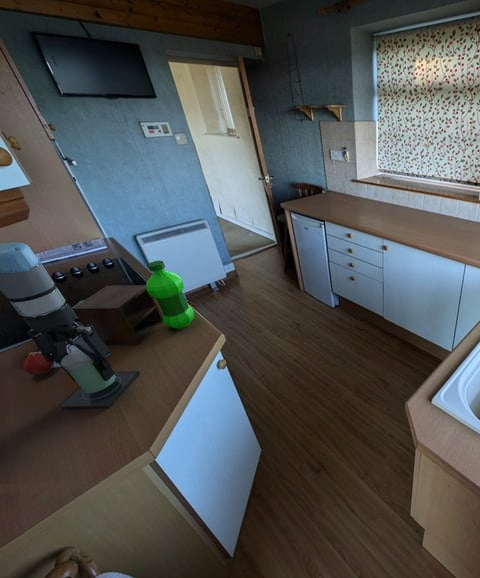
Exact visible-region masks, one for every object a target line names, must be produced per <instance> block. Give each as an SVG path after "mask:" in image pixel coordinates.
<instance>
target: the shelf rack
mask: <svg viewBox="0 0 480 578" xmlns="http://www.w3.org/2000/svg"><path fill="white" fill-rule="evenodd" d="M83 300H84V301H83ZM83 300H82V301H83V302H81V303H80V304H78V303H77V304H78V305H77V306H75V305H74V306H75V307H74V306H73V307H74V308H72V307H71V308H72V309H73V311H74V312H75V314H76V315H77V317H78V318H79V319H78V320H79V321H80V324H81V325H82V327H87V326H88V325H92V326H93V327H94V329H95V332H96V334H97V335H98V336H99V337H100V338H101V340H102V341H103V342H104V343H105V344H106V346H119V345H125V346H127V345H140V344H141V343H142V341H141V340H140V338H139V337H138V335H137V333H136V331H135V328H136V327H137V326H138V325H139V324H140V323H141V322H163V318H162V314H163V313H162V311H161V308H160V306H159V304H158V302H157V300H156V298H154V297H151V296H150V295H149V294H148V292H147V288H146V284H142V285H141V284H140V285H139V284H138V285H137V284H135V285H133V284H132V285H131V284H129V285H123V284H122V285H120V284H119V285H105V286H104V287H103V288H101V289H99V290H98V291H96V292H95V293H93V294H92V295H90V296H88V297H87V298H85V299H83Z"/></svg>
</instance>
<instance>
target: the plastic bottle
mask: <svg viewBox="0 0 480 578" xmlns="http://www.w3.org/2000/svg"><path fill="white" fill-rule="evenodd" d="M147 267H148V269H149V271H150V272H152V275H151V276H149V278H148V280H147V281H146V283H145V285H146V288H147V292H148V294H149V295H150V296H151V297H154V299H155V300H156V303H157V305H158V307H159V309H160V311H161V314H162V318H163V321H162V322H163V324H164V325H165V326H166V327H169V328H173V329H179V330H180V329H184V328H186V327H188V326H189V325H190V324H191V322H192V321H193V320H194V319H195V311H194V310H193V307H192V306H190V305H189V304H188V302H187V300H186V297H185V295H184V292H183V290H184V289H185V284H184V282H183V278H182V277H181V276H180V275H179V274H177V273H175V272H171V271H168V270H165V268H166V265H165V263H164V261H163V260H154V261H151V262H149V263H148V264H147Z"/></svg>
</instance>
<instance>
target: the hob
mask: <svg viewBox="0 0 480 578" xmlns="http://www.w3.org/2000/svg"><path fill="white" fill-rule="evenodd" d="M114 372H115V376H116V378H115V380H114V382H113V383H112V384H111V385H109V386H108V387H106V388H105V389H103V390H100V391H98V392H94V393H85V392H83V390H82V389H81V388H80V387H79V389H77V390H76V391H75V392H74V393H73V394H72V395H71V396H70V397H68V399H67V400H66V401H65V402H64V403H62V405H60V408H61V409H62V410H75V409H76V410H79V409H83V410H84V409H111V407H112V405H114V403H115V402H116V401H117V400H119V398H120V397H121V396H122V394H123V393H124V392H125V391H126V390H127V389H128V387H130V385H132V383H133V382H134V381H135V380H136V379H137V378H138V377H139V376H140V374H141V372H140V371H139V370H127V371H126V370H125V371H123V370H121V371H119V370H117V371H114Z"/></svg>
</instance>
